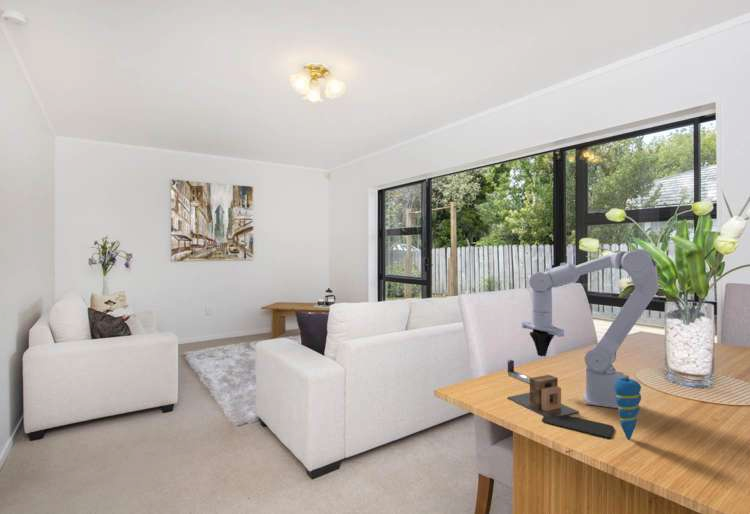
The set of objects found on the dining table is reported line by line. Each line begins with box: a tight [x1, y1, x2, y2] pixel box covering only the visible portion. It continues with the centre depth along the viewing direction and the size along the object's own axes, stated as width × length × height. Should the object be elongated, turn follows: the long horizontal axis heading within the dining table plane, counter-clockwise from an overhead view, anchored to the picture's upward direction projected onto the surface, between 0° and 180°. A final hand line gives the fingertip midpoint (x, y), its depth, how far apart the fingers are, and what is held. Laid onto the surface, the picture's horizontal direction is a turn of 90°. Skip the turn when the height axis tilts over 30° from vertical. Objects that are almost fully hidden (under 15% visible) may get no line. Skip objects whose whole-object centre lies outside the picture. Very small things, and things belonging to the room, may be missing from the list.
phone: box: [541, 415, 615, 440], centre depth 95 cm, size 7×1×15 cm
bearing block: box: [529, 374, 559, 409], centre depth 106 cm, size 3×7×7 cm, turn 113°
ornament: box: [614, 373, 642, 440], centre depth 88 cm, size 5×5×15 cm
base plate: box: [507, 392, 580, 418], centre depth 107 cm, size 16×10×1 cm, turn 24°
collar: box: [541, 386, 562, 411], centre depth 104 cm, size 2×5×5 cm, turn 114°
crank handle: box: [507, 359, 532, 386], centre depth 112 cm, size 13×2×5 cm, turn 23°
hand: (541, 355), depth 119 cm, fingers closed
